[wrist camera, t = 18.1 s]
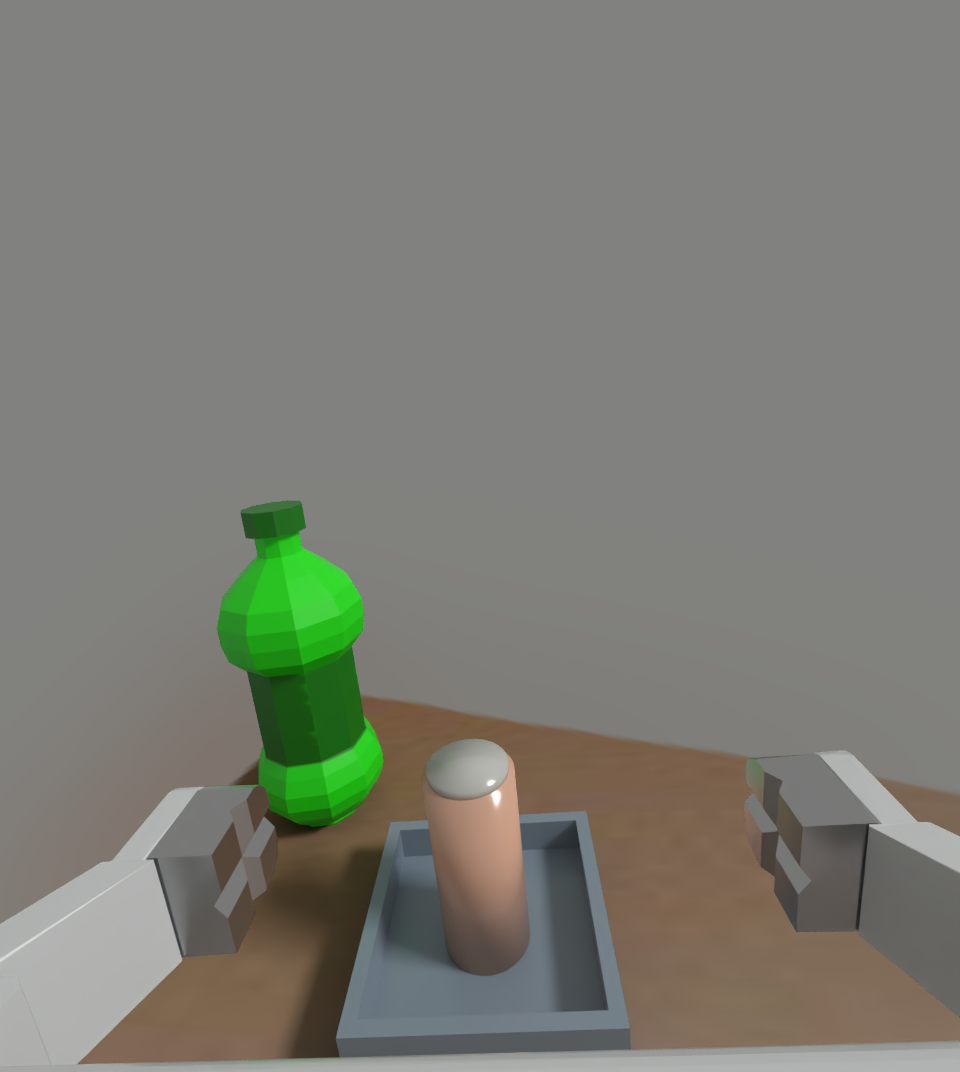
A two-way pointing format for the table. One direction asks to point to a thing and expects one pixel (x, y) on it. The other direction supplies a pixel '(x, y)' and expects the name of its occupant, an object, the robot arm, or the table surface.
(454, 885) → the pink cylindrical can
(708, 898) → the table surface
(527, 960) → the shallow grey tray
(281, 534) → the plastic bottle
